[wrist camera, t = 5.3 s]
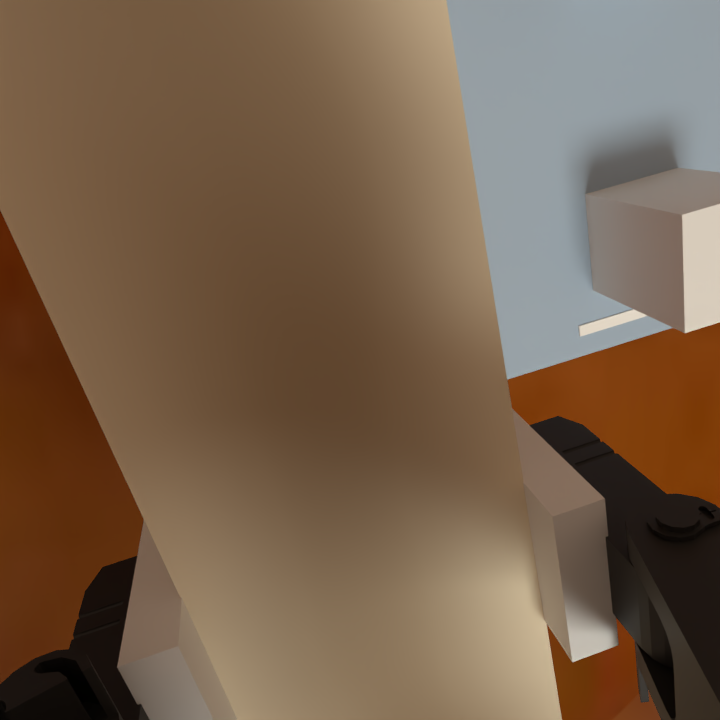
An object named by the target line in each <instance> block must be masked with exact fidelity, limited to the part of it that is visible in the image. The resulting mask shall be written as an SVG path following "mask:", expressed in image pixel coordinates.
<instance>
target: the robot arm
mask: <svg viewBox="0 0 720 720" xmlns="http://www.w3.org/2000/svg"><path fill="white" fill-rule="evenodd" d="M512 413H513V419H514V425H515V431H516V437H517V444H518V450H519V456H520V462H521V469H522V475H523V481H524V482H523V485H524V492H525V498H526V504H527V511H528V517H529V524H530V530H531V537H532V543H533V550H534V556H535V562H536V569H537V575H538V582H539V588H540V595H541V601H542V607H543V614H544V620H545V621H546V623H547V625H548V626H549V628H550V629H551V631H552V632H553V634H554V635H555V637H556V638H557V640H558V641H559V643H560V644H561V646H562V647H563V649H564V650H565V652H566V653H567V655H568V656H569V658H570V659H571V661H572V662H574V661H577V660H580V659H582V658H585V657H588V656H590V655H593V654H596V653H598V652H601V651H604V650H606V649H609V648H612V647H614V646H617V645H618V634H617V624H616V618H617V619H618V620H619V621H620V622H621V624H622V625H623V626H624V627H625V629H626V630H627V631H628V632H629V634H630V635H631V636H632V637H633V639H634V640H635V651H636V664H637V677H638V689H639V694H640V700H641V702H648V701H649V697H648V690H649V692H650V695H651V697H652V699H653V702H654V704H655V706H656V709H657V711H658V713H659V716H660V718H661V720H720V508H718V507H717V506H716V505H714V504H712V503H710V502H707V501H705V500H703V499H700V498H698V497H693V496H688V495H682V494H666V493H665V492H663V491H662V490H661V489H660V488H659V487H657V486H656V485H655V484H654V483H652V482H651V481H650V480H649V479H648V478H646V477H645V476H644V475H643V474H642V473H640V472H639V471H638V470H637V469H636V468H634V467H633V466H632V465H631V464H629V463H628V462H627V461H626V460H625V459H623V458H622V457H621V456H620V455H619V454H615V453H614V450H613V449H611V448H610V447H609V446H608V445H606V444H605V443H604V442H601V441H600V439H599V438H598V437H597V436H596V435H594V434H593V433H592V432H591V431H590V430H588V429H587V428H586V427H585V426H583V425H582V424H579V423H576V422H573V421H571V420H568V419H565V418H562V417H559V416H557V417H554V418H551V419H548V420H544V421H541V422H538V423H535V424H532V425H528V424H527V423H526V422H525V421H524V420H523V419H522V418H521V417H520V416H519V415H518V414H517V413H516V412H515V411H514V410H513V409H512ZM73 636H74V639H73V640H72V641H71V644H70V648H69V650H56V651H53V652H51V653H48V654H45V655H43V656H40V657H38V658H35V659H33V660H32V661H30V662H29V663H27V664H26V665H24V666H22V667H21V668H19V669H18V670H16V671H15V672H13V673H12V674H11V675H10V676H9V677H8V678H7V679H6V680H5V681H4V682H3V683H1V684H0V720H237V717H236V715H235V713H234V711H233V709H232V706H231V704H230V702H229V700H228V698H227V695H226V693H225V691H224V689H223V687H222V684H221V682H220V680H219V678H218V676H217V674H216V671H215V669H214V667H213V665H212V663H211V660H210V658H209V656H208V654H207V652H206V649H205V647H204V645H203V643H202V641H201V638H200V636H199V634H198V632H197V630H196V627H195V625H194V623H193V621H192V619H191V617H190V614H189V612H188V610H187V608H186V606H185V603H184V601H183V599H182V597H181V598H180V596H179V594H178V592H177V589H176V587H175V585H174V583H173V581H172V579H171V577H170V574H169V572H168V570H167V568H166V566H165V564H164V561H163V559H162V557H161V555H160V553H159V551H158V549H157V546H156V544H155V542H154V540H153V538H152V536H151V534H150V531H149V529H148V527H147V525H146V523H145V521H144V522H143V528H142V533H141V539H140V544H139V550H138V555H137V556H135V557H132V558H129V559H126V560H123V561H120V562H117V563H114V564H111V565H108V566H105V567H103V568H102V569H101V570H100V572H99V573H98V574H97V576H96V577H95V579H94V580H93V581H92V583H91V584H90V586H89V587H88V588H87V590H86V591H85V594H84V598H83V601H82V605H81V608H80V612H79V619H78V620H77V623H76V626H75V630H74V633H73Z"/></svg>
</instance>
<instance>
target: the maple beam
mask: <svg viewBox="0 0 720 720" xmlns="http://www.w3.org/2000/svg"><path fill="white" fill-rule="evenodd" d="M0 211H1V213H2V215H3V217H4V219H5V221H6V224H7V226H8V228H9V230H10V232H11V234H12V236H13V239H14V241H15V243H16V245H17V247H18V249H19V252H20V254H21V256H22V258H23V260H24V262H25V264H26V267H27V269H28V271H29V273H30V275H31V277H32V280H33V282H34V284H35V286H36V288H37V290H38V292H39V295H40V297H41V299H42V301H43V303H44V305H45V308H46V310H47V312H48V314H49V316H50V318H51V320H52V323H53V325H54V327H55V329H56V331H57V333H58V335H59V338H60V340H61V342H62V344H63V346H64V348H65V351H66V353H67V355H68V357H69V359H70V361H71V363H72V366H73V368H74V370H75V372H76V374H77V376H78V379H79V381H80V383H81V385H82V387H83V389H84V391H85V394H86V396H87V398H88V400H89V402H90V404H91V407H92V409H93V411H94V413H95V415H96V417H97V419H98V422H99V424H100V426H101V428H102V430H103V432H104V435H105V437H106V439H107V441H108V443H109V445H110V447H111V450H112V452H113V454H114V456H115V458H116V460H117V462H118V465H119V467H120V469H121V471H122V473H123V475H124V478H125V480H126V482H127V484H128V486H129V488H130V490H131V493H132V495H133V497H134V499H135V501H136V503H137V506H138V508H139V510H140V512H141V514H142V516H143V518H144V521H145V523H146V525H147V527H148V529H149V531H150V534H151V536H152V538H153V540H154V542H155V544H156V546H157V549H158V551H159V553H160V555H161V557H162V559H163V561H164V564H165V566H166V568H167V570H168V572H169V574H170V577H171V579H172V581H173V583H174V585H175V587H176V589H177V592H178V594H179V596H180V598H181V597H182V599H183V601H184V603H185V606H186V608H187V610H188V612H189V614H190V617H191V619H192V621H193V623H194V625H195V627H196V630H197V632H198V634H199V636H200V638H201V641H202V643H203V645H204V647H205V649H206V652H207V654H208V656H209V658H210V660H211V663H212V665H213V667H214V669H215V671H216V674H217V676H218V678H219V680H220V682H221V684H222V687H223V689H224V691H225V693H226V695H227V698H228V700H229V702H230V704H231V706H232V709H233V711H234V713H235V715H236V717H237V720H562V718H561V712H560V705H559V699H558V693H557V687H556V680H555V674H554V668H553V662H552V656H551V649H550V643H549V637H548V631H547V624H546V621H545V620H544V614H543V607H542V601H541V595H540V588H539V582H538V575H537V569H536V562H535V556H534V550H533V543H532V537H531V530H530V524H529V517H528V511H527V504H526V498H525V492H524V485H523V482H524V481H523V475H522V469H521V462H520V456H519V450H518V444H517V437H516V431H515V425H514V419H513V413H512V406H511V400H510V394H509V388H508V381H507V375H506V369H505V363H504V356H503V350H502V344H501V338H500V332H499V325H498V319H497V313H496V307H495V300H494V294H493V288H492V282H491V275H490V269H489V263H488V257H487V251H486V244H485V238H484V232H483V226H482V219H481V213H480V207H479V201H478V194H477V188H476V182H475V176H474V170H473V163H472V157H471V151H470V145H469V138H468V132H467V126H466V120H465V113H464V107H463V101H462V95H461V89H460V82H459V76H458V70H457V64H456V57H455V51H454V45H453V39H452V32H451V26H450V20H449V14H448V7H447V1H446V0H0Z"/></svg>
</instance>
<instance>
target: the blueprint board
mask: <svg viewBox="0 0 720 720" xmlns="http://www.w3.org/2000/svg"><path fill="white" fill-rule="evenodd" d="M446 1H447V7H448V14H449V20H450V26H451V32H452V39H453V45H454V51H455V57H456V64H457V70H458V76H459V82H460V89H461V95H462V101H463V107H464V113H465V120H466V126H467V132H468V138H469V145H470V151H471V157H472V163H473V170H474V176H475V182H476V188H477V194H478V201H479V207H480V213H481V219H482V226H483V232H484V238H485V244H486V251H487V257H488V263H489V269H490V275H491V282H492V288H493V294H494V300H495V307H496V313H497V319H498V325H499V332H500V338H501V344H502V350H503V356H504V363H505V369H506V375H507V379H510V378H514V377H517V376H520V375H523V374H526V373H529V372H533V371H536V370H539V369H542V368H545V367H549V366H552V365H555V364H558V363H561V362H565V361H568V360H571V359H574V358H577V357H581V356H584V355H587V354H590V353H593V352H597V351H600V350H603V349H606V348H609V347H613V346H616V345H619V344H622V343H625V342H629V341H632V340H635V339H638V338H641V337H644V336H648V335H651V334H654V333H657V332H660V331H664V330H667V329H670V328H675V329H677V330H679V331H681V332H684V333H687V332H690V331H693V330H696V329H700V328H703V327H706V326H709V325H712V324H716V323H719V322H720V0H446Z"/></svg>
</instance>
